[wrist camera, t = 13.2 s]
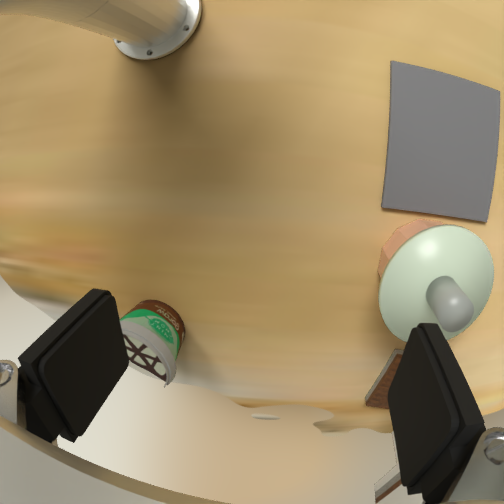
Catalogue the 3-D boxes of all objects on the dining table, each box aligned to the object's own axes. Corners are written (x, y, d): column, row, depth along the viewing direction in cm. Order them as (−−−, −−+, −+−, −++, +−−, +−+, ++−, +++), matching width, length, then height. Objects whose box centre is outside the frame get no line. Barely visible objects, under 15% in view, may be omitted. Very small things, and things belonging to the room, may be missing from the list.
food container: (207, 323, 47) (185, 367, 38) (189, 346, 49) (167, 389, 40) (139, 277, 46) (105, 312, 36) (126, 304, 48) (94, 339, 39)
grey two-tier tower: (395, 348, 43) (439, 570, 11) (446, 358, 43) (508, 546, 11) (365, 397, 48) (376, 590, 16) (414, 403, 47) (444, 576, 15)
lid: (391, 217, 30) (409, 236, 24) (503, 232, 28) (530, 251, 22) (366, 338, 35) (373, 372, 30) (467, 340, 33) (484, 368, 28)
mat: (390, 61, 29) (391, 60, 29) (497, 91, 27) (500, 91, 27) (380, 206, 36) (382, 207, 36) (484, 220, 34) (486, 222, 33)
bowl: (387, 214, 36) (403, 233, 30) (466, 225, 35) (491, 243, 28) (371, 300, 41) (380, 329, 35) (445, 304, 39) (463, 331, 33)
